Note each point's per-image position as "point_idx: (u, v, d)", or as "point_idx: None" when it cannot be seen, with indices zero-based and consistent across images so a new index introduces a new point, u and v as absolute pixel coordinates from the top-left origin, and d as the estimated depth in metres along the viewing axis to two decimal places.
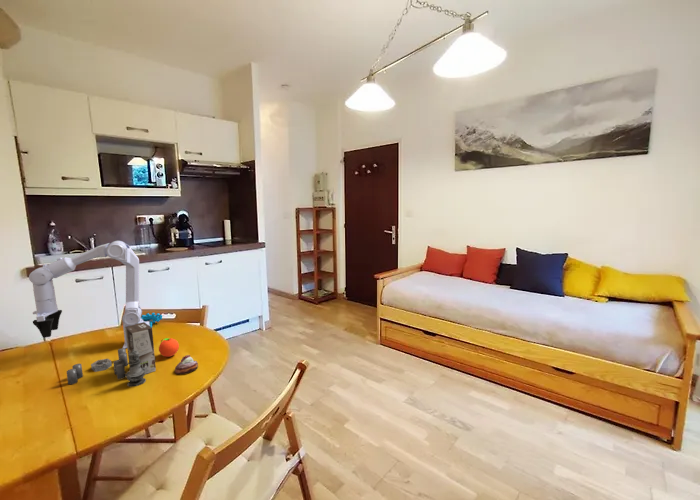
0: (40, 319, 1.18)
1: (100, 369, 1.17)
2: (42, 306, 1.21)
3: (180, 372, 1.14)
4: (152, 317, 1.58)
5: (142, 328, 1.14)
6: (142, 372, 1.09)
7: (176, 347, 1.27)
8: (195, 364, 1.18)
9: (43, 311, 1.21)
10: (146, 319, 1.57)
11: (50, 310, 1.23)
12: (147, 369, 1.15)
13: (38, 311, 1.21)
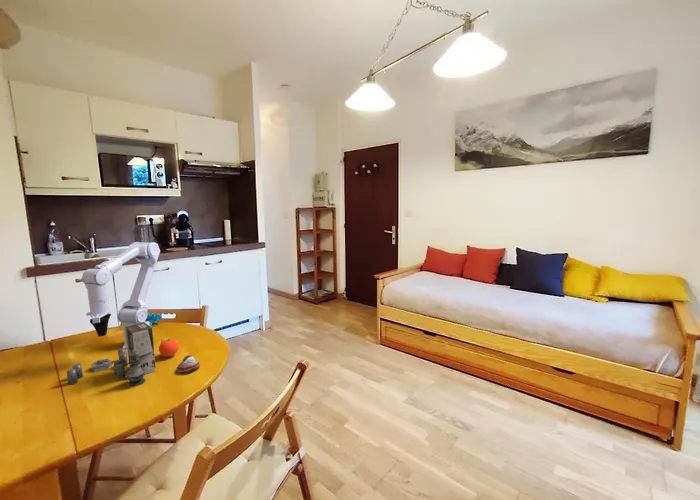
0: (95, 320, 1.17)
1: (100, 369, 1.17)
2: (96, 307, 1.20)
3: (182, 372, 1.15)
4: (152, 317, 1.57)
5: (142, 328, 1.14)
6: (142, 372, 1.09)
7: (176, 347, 1.27)
8: (197, 364, 1.18)
9: (97, 312, 1.20)
10: (146, 319, 1.57)
11: (103, 311, 1.21)
12: (147, 369, 1.15)
13: (92, 312, 1.20)
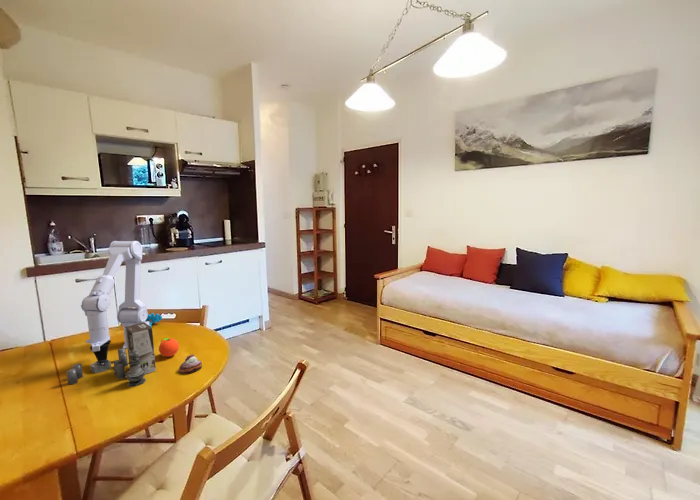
0: (95, 349, 1.14)
1: (99, 370, 1.16)
2: (96, 335, 1.17)
3: (184, 372, 1.15)
4: (152, 317, 1.57)
5: (142, 328, 1.14)
6: (142, 372, 1.09)
7: (176, 347, 1.27)
8: (199, 364, 1.18)
9: (97, 340, 1.17)
10: (146, 319, 1.57)
11: (104, 339, 1.19)
12: (147, 369, 1.15)
13: (92, 340, 1.17)
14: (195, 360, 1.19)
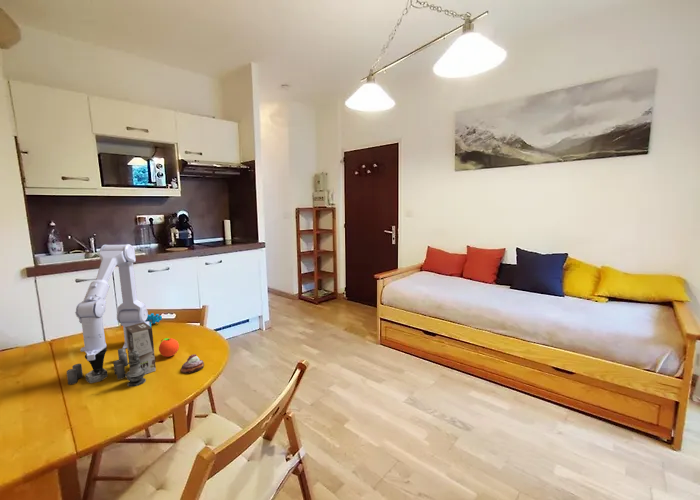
0: (90, 357, 1.07)
1: (95, 380, 1.10)
2: (91, 343, 1.11)
3: (187, 371, 1.15)
4: (151, 317, 1.57)
5: (142, 328, 1.14)
6: (142, 372, 1.09)
7: (176, 347, 1.27)
8: (201, 363, 1.18)
9: (92, 348, 1.11)
10: None
11: (99, 347, 1.12)
12: (147, 369, 1.15)
13: (87, 348, 1.11)
14: (197, 360, 1.19)
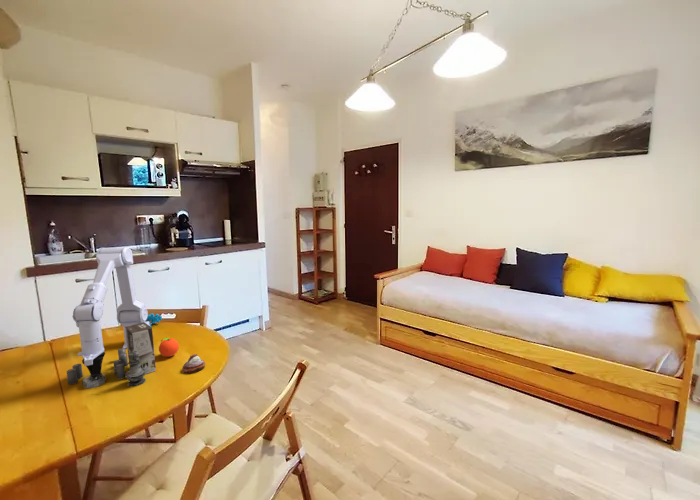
0: (88, 362, 1.04)
1: (92, 385, 1.07)
2: (89, 347, 1.08)
3: (188, 371, 1.15)
4: (151, 318, 1.57)
5: (142, 328, 1.14)
6: (142, 372, 1.09)
7: (176, 347, 1.27)
8: (202, 363, 1.18)
9: (90, 352, 1.08)
10: None
11: (97, 351, 1.09)
12: (147, 369, 1.15)
13: (84, 353, 1.08)
14: (198, 360, 1.19)
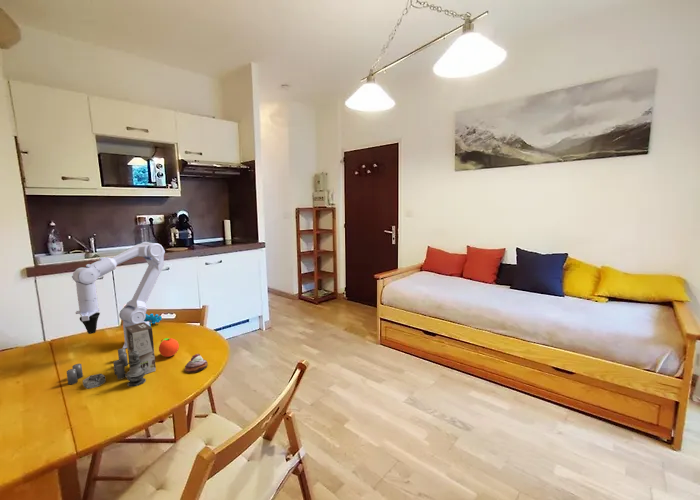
0: (85, 318, 1.18)
1: (93, 386, 1.07)
2: (85, 306, 1.22)
3: (190, 371, 1.15)
4: (151, 318, 1.57)
5: (142, 328, 1.14)
6: (142, 372, 1.09)
7: (176, 347, 1.27)
8: (204, 363, 1.19)
9: (86, 311, 1.22)
10: (145, 320, 1.57)
11: (93, 310, 1.23)
12: (147, 369, 1.15)
13: (81, 311, 1.22)
14: (201, 359, 1.19)
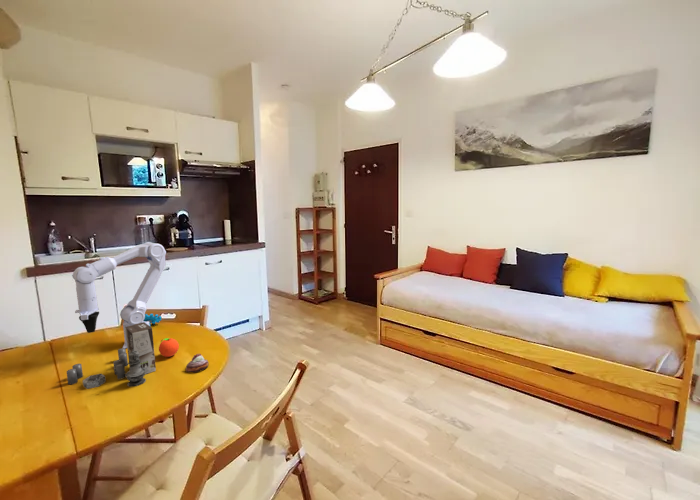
0: (83, 317, 1.19)
1: (93, 386, 1.07)
2: (85, 305, 1.23)
3: (191, 371, 1.16)
4: (151, 318, 1.57)
5: (142, 328, 1.14)
6: (142, 372, 1.09)
7: (176, 347, 1.27)
8: (206, 363, 1.19)
9: (85, 310, 1.23)
10: (145, 320, 1.57)
11: (92, 309, 1.24)
12: (147, 369, 1.15)
13: (80, 310, 1.23)
14: (202, 359, 1.19)
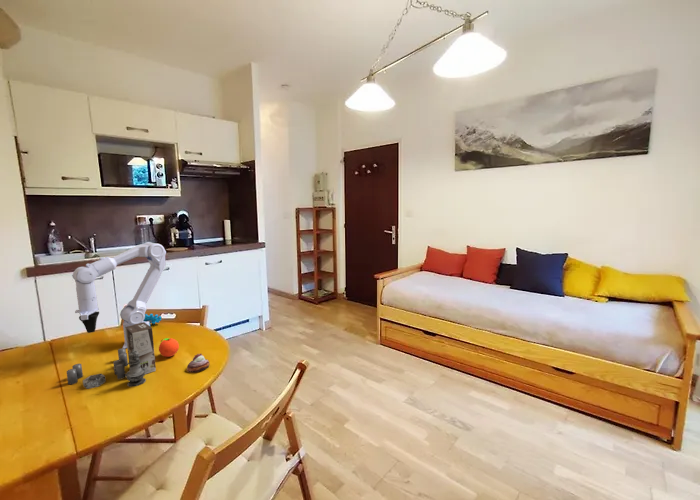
0: (83, 317, 1.19)
1: (93, 386, 1.07)
2: (85, 305, 1.23)
3: (192, 371, 1.16)
4: (151, 318, 1.56)
5: (142, 328, 1.14)
6: (142, 372, 1.09)
7: (176, 347, 1.27)
8: (206, 363, 1.19)
9: (85, 310, 1.23)
10: (145, 320, 1.57)
11: (92, 309, 1.24)
12: (147, 369, 1.15)
13: (80, 310, 1.23)
14: (203, 359, 1.19)
